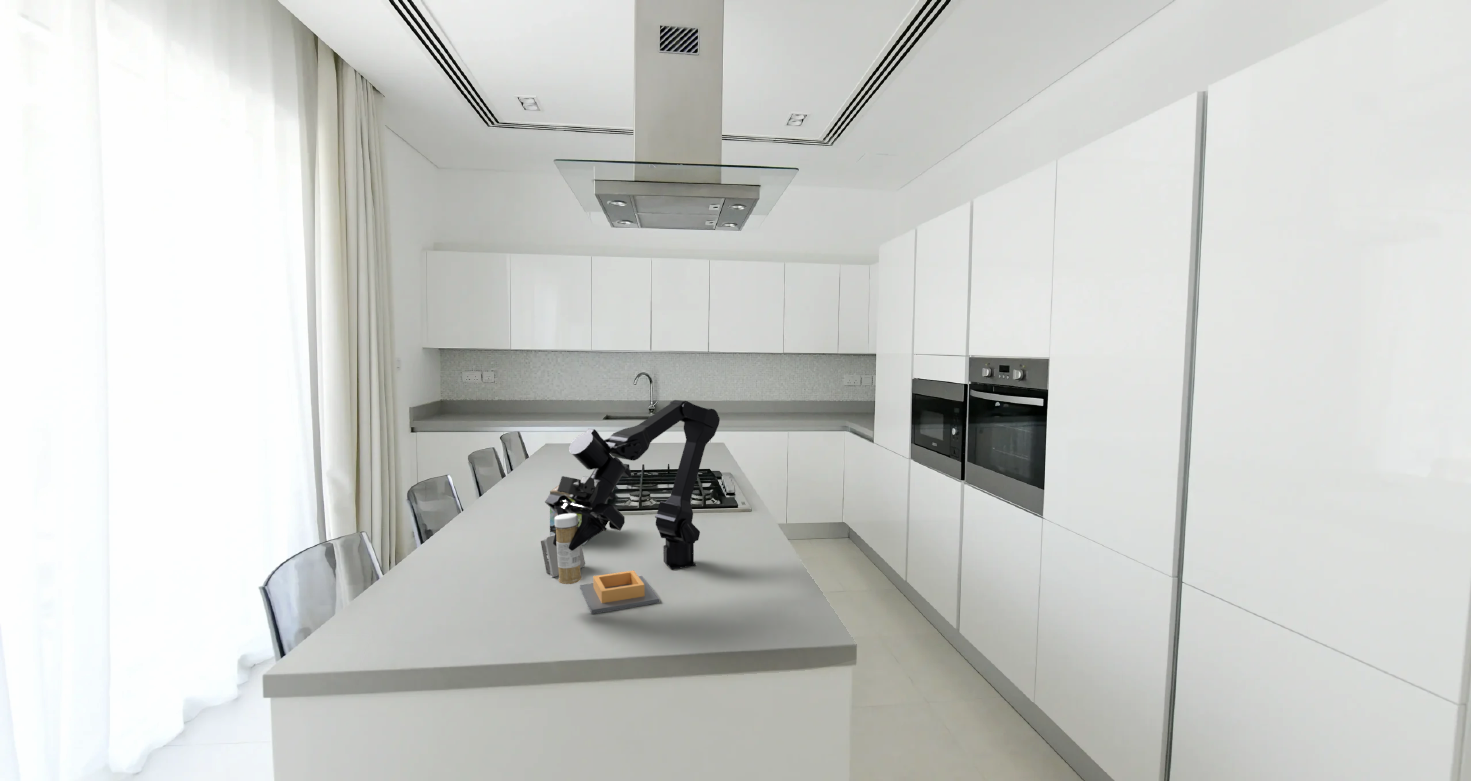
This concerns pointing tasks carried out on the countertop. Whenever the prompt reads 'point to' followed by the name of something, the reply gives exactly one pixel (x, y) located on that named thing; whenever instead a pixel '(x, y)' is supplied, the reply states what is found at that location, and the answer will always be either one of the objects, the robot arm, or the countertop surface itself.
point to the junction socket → (617, 592)
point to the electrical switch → (554, 556)
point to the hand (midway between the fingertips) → (562, 547)
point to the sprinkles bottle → (567, 548)
